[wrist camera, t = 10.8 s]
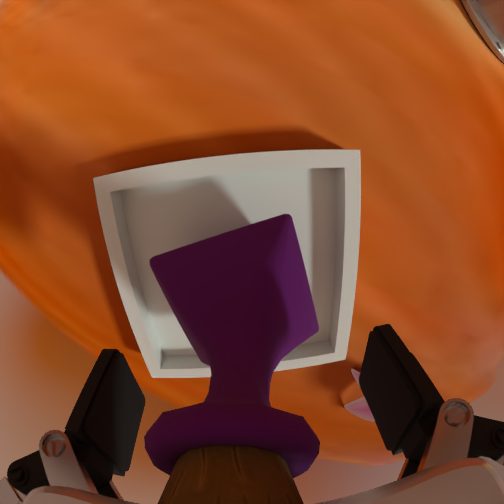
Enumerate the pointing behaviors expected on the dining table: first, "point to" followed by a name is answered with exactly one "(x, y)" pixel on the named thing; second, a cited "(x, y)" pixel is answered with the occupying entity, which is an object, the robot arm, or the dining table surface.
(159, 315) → the tray
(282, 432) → the perfume bottle
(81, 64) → the dining table surface
